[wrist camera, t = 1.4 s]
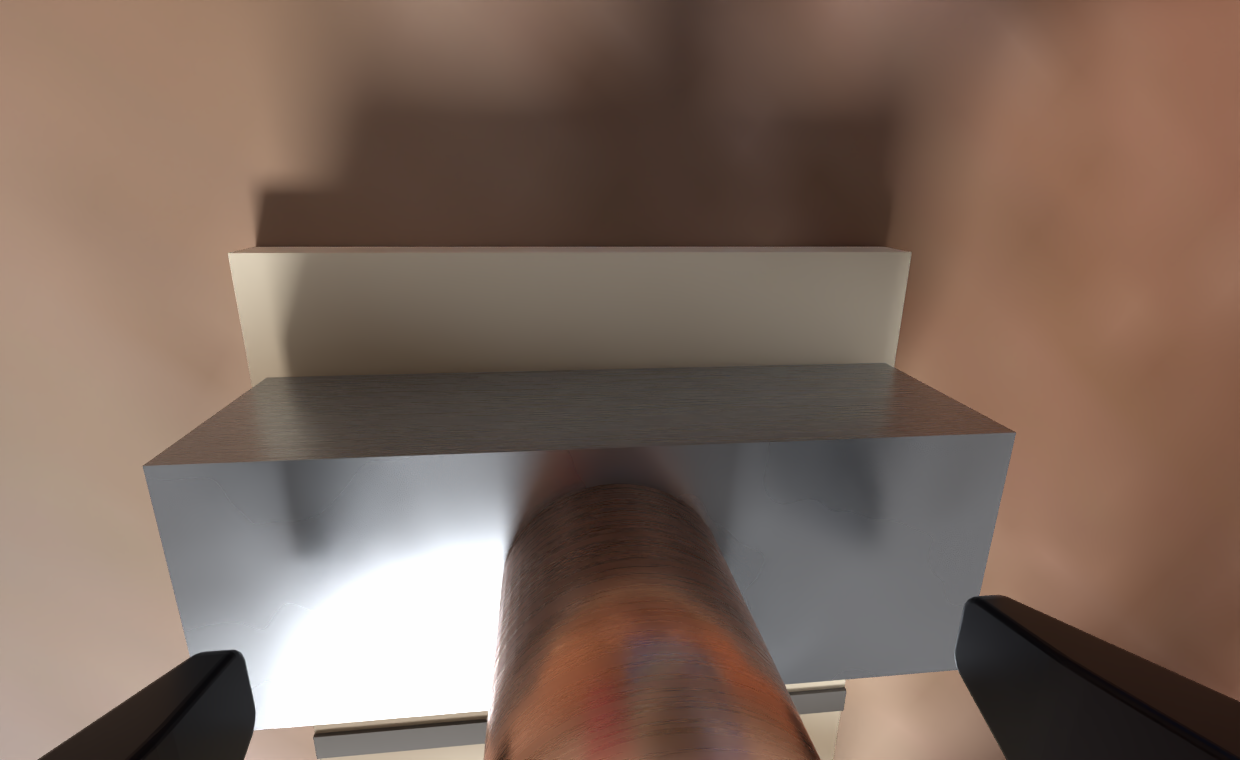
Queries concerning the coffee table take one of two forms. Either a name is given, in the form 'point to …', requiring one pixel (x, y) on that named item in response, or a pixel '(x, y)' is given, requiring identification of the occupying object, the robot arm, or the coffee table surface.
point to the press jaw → (581, 548)
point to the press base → (559, 354)
